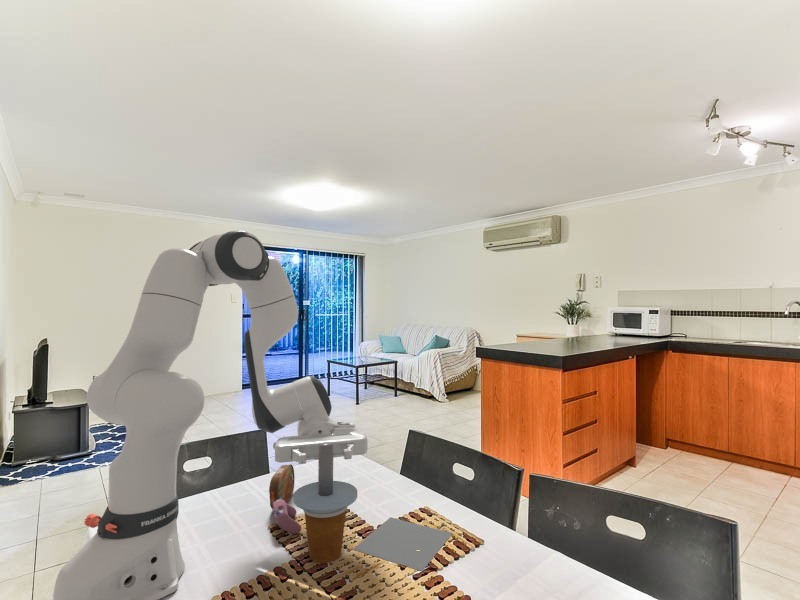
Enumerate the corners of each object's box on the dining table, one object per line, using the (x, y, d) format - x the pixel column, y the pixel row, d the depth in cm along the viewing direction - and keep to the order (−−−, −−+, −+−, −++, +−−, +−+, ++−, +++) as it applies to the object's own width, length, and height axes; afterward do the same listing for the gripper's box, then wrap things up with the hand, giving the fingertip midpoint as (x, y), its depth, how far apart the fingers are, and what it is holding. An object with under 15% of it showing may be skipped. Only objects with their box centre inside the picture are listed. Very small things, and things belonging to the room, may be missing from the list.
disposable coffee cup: (305, 574, 82) (305, 510, 83) (298, 548, 91) (298, 491, 92) (354, 564, 86) (354, 502, 86) (342, 540, 95) (342, 485, 95)
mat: (422, 573, 83) (422, 571, 83) (352, 551, 90) (352, 549, 90) (452, 535, 97) (452, 533, 97) (390, 519, 104) (390, 517, 104)
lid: (332, 517, 80) (332, 458, 80) (279, 502, 86) (279, 448, 86) (369, 491, 92) (369, 440, 92) (320, 480, 98) (320, 432, 98)
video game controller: (280, 523, 105) (267, 500, 104) (297, 512, 107) (284, 488, 106) (284, 544, 96) (270, 518, 95) (303, 531, 98) (289, 505, 97)
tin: (279, 515, 107) (279, 480, 107) (266, 515, 107) (267, 480, 107) (295, 490, 122) (295, 459, 122) (284, 490, 122) (284, 459, 122)
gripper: (273, 429, 100) (273, 447, 87) (360, 422, 106) (373, 438, 92) (272, 456, 100) (273, 478, 86) (360, 448, 106) (373, 467, 92)
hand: (325, 457), depth 90 cm, fingers open, 8 cm apart
